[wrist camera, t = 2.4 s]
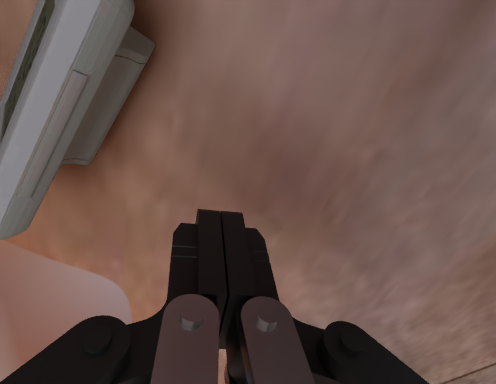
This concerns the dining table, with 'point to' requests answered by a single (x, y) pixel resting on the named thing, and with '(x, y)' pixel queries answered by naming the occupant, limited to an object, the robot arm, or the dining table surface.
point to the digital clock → (63, 96)
